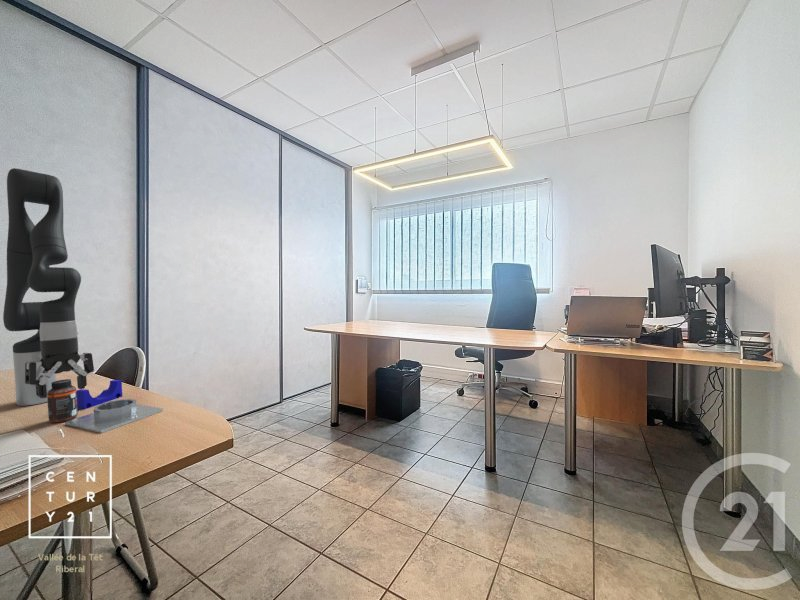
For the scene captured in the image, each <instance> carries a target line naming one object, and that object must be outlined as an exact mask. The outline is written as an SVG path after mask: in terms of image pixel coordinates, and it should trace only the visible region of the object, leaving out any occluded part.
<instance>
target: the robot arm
mask: <svg viewBox="0 0 800 600" xmlns="http://www.w3.org/2000/svg"><path fill="white" fill-rule="evenodd" d="M63 193H64V191H63V186H62V183H61V181H60V178H58V177H56V176H54V175H51V174H46V173H40V172H36V171H33V170H32V171H31V170H26V169H22V168H16V167H15V168H11V169H9V170H8V172H7V176H6V194H7V196H6V197H7V210H8V211H7V213H8V227H7V228H8V229H7V242H6V289H5V290H6V291H5V297H4V306H3V315H2V317H3V318H2V320H3V325H4V327H5V329H6V330H7V331H9V332H24V331H35V330H37V332H36V333H35V334H33V335H32V336H30V337H28V338H26V339H23V340H20V341H17V342H15V343H13V345H12V352H13V353H12V354H13V355H12V356H13V357H12V358H13V372H14V385H15V401H16V406H21V407H23V406H24V407H25V406H33V405H40V404H44V403H48V400H47V393H48V391H49V390H51V389H52V387H51V386H52V384H51V383H52V382H54V381H57V378H56V377H57V374H62V373H65V372H71V371H72V372H74V374H76V375H77V376H76V380H77V381H76V385H77V390H80V389H85V388H86V387H87V385H88V383H87V376H88V374H90V373H93V372H95V367H94V360H93V359H94V358H93V353H92V352H91V353H90V352H83V353H82V354H79V342H78V341H79V338H78V334H79V332H78V328H77V324H76V312H75V306H76V305H75V304H76V299H77V295H78V291H79V289H80V285H81V282H82V276H81V274H80V272H79V271H78V270H77V269H76V268H74V267H61V266H60V267H56V266H55V265H60V264H64V263H66V262H67V261H68V258H69V257H68V256H69V255H68V250H67V245H66V241H65V235H64V234H65V233H64V197H63V196H64V194H63ZM25 203H31V204H40V205H45V206H48V209H47V212H46V213H45V215H44V216H43V217H42V218H41V219H40V220H39V221H38V222H37V223H36V224H34V222H33V221H32V219H31V218H30V216H29V214H28V212H27V210H26V206H25ZM52 266H53V267H52ZM54 266H55V267H54ZM29 289H31V290H32V291H34V292H37V293H63V294H62V295H61V296H60V298H56V299H51V300H46V301H35V302H34V301H33V302H31V301H30V302H23V300H24V298H25V295H26V293H27V291H28V290H29ZM80 360H81V361H82V363H83V368H84V369H83V368H82V367H81V366H80V365H79V364H78V362H79V361H80Z"/></svg>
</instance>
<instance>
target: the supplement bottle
mask: <svg viewBox="0 0 800 600" xmlns="http://www.w3.org/2000/svg"><path fill="white" fill-rule="evenodd" d="M51 384H52V386H51V387H52V389H51V390H49V391H48V393H47V400H48V402H47V413H48V415H47V416H48V422H49V423H52V424H58V423H59V424H60V423H65V422H66V421H69V420H72V419H76V418H78V415H79V414H78V410H79V409H77V394H76V390H77V388H76V386H74V385H72V379H69V378H67V379H64V378H63V379H59V380H56V381H54V382H52V383H51Z"/></svg>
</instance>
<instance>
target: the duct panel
mask: <svg viewBox="0 0 800 600" xmlns="http://www.w3.org/2000/svg"><path fill="white" fill-rule="evenodd" d="M163 409H164V408H162V407H158V406H151V405H146V404H140V403H137V399H132V398H127V399H126V398H125V399H115V400H111V401H108V402H105V403H102V404H99V405H96V406H93V413H90V414H85V415H83V416H79V417H76V418H74V419H71V420H68V421H64V425H66V426H71V427H74V428H77V429H78V428H79V429H82V430H87V431H91V432H96V433H100V434H103V433H105V432H108V431H111V430H114V429H116V428H119V427H122V426H125V425H128V424H131V423H133V422H136V421H139V420H142V419H145V418H148V417H150V416H152V415H153V416H154V415H155V413H156V414H159V413H161V412H163V411H164V410H163ZM158 412H159V413H158Z"/></svg>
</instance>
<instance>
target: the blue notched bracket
mask: <svg viewBox="0 0 800 600" xmlns="http://www.w3.org/2000/svg"><path fill="white" fill-rule="evenodd" d="M76 394H77V410H87V409H90V408H94V407H96V406H98V405H100V404H103V403H107V402H110V401H115V400H118V399H119V397H120V398H122V397H123V382H122V379H111V380H110V381H109V386H108V388H105V389H103V390H102V391H101V393H99V394H98V395H97V396H95V397H93V396H92V395H91V394H90V390H89V389H85V388H84V389H76Z"/></svg>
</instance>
